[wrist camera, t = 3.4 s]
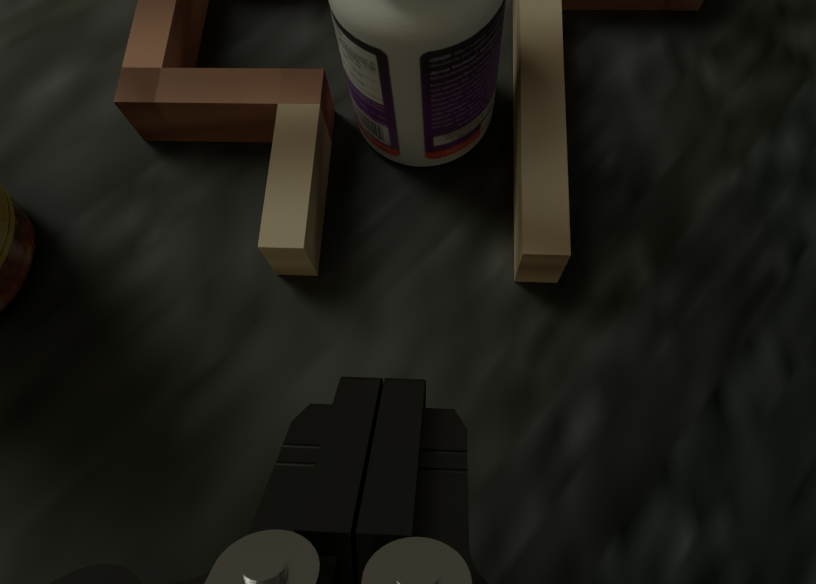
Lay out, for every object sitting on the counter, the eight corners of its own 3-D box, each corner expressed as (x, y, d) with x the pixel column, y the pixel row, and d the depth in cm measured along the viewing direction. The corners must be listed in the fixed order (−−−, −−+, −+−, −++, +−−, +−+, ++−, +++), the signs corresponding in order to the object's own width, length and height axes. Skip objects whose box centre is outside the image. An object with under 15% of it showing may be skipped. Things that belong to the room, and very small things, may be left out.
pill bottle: (496, 58, 25) (526, -198, 16) (488, 175, 24) (516, -38, 15) (364, 51, 26) (321, -202, 17) (346, 166, 24) (286, -46, 15)
